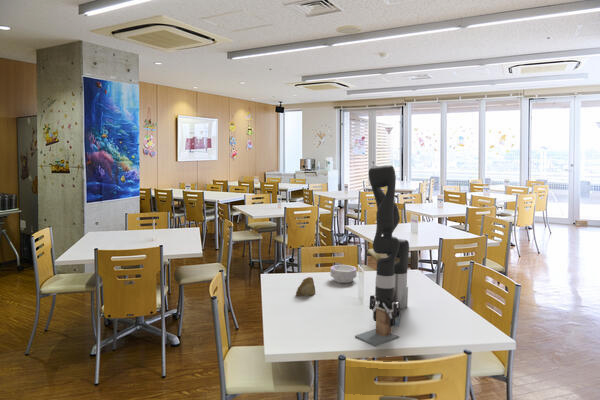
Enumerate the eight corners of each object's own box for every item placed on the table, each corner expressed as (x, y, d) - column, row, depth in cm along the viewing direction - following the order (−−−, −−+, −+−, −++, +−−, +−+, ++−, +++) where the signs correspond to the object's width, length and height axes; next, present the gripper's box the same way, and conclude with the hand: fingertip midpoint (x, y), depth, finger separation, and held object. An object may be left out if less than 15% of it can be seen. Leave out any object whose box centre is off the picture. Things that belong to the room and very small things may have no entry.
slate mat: (378, 329, 193) (378, 327, 193) (398, 337, 185) (398, 335, 185) (354, 337, 185) (354, 335, 185) (375, 346, 176) (375, 344, 176)
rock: (293, 293, 234) (312, 292, 232) (293, 277, 238) (312, 276, 237) (298, 300, 243) (316, 299, 241) (298, 285, 247) (316, 283, 246)
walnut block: (383, 330, 190) (383, 304, 189) (391, 333, 187) (392, 307, 186) (375, 333, 187) (376, 307, 186) (384, 336, 184) (384, 310, 183)
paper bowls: (357, 284, 258) (358, 271, 258) (331, 284, 259) (331, 270, 258) (355, 277, 274) (355, 264, 273) (329, 277, 274) (329, 264, 273)
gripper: (404, 287, 182) (403, 326, 183) (378, 279, 193) (377, 316, 195) (392, 290, 177) (391, 331, 179) (365, 282, 188) (364, 320, 190)
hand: (383, 323), depth 187 cm, fingers open, 8 cm apart
